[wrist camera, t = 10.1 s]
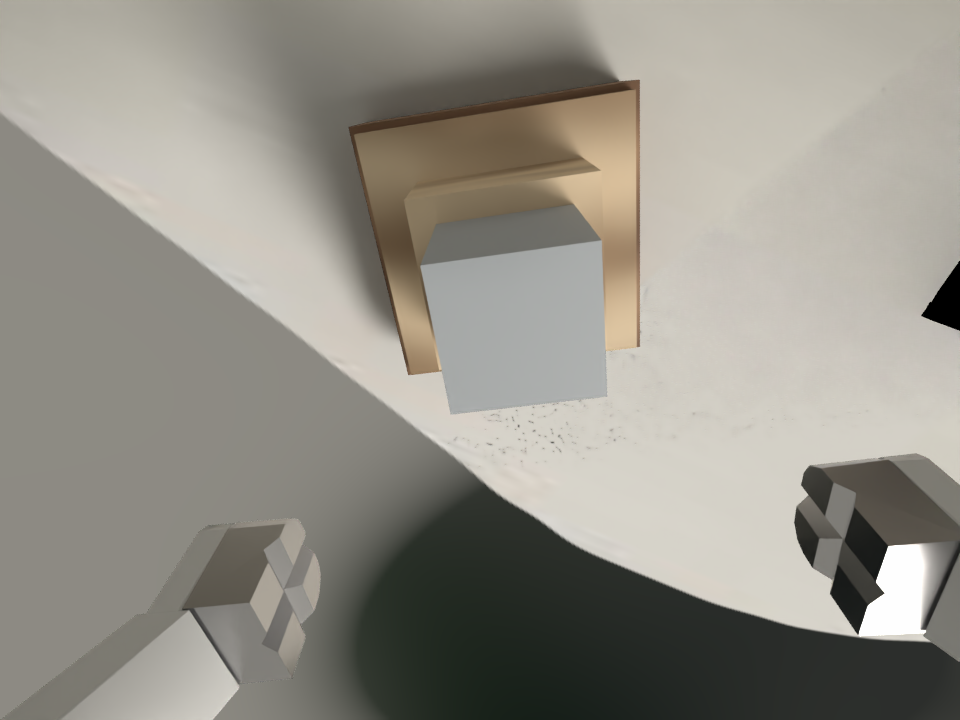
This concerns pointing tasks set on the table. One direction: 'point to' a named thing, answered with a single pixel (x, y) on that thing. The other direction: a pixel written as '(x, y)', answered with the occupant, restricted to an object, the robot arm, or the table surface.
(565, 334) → the grey cube
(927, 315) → the black long flat piece
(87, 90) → the table surface
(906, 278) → the table surface
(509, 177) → the oak block
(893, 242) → the table surface
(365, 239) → the table surface
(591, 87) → the plinth
